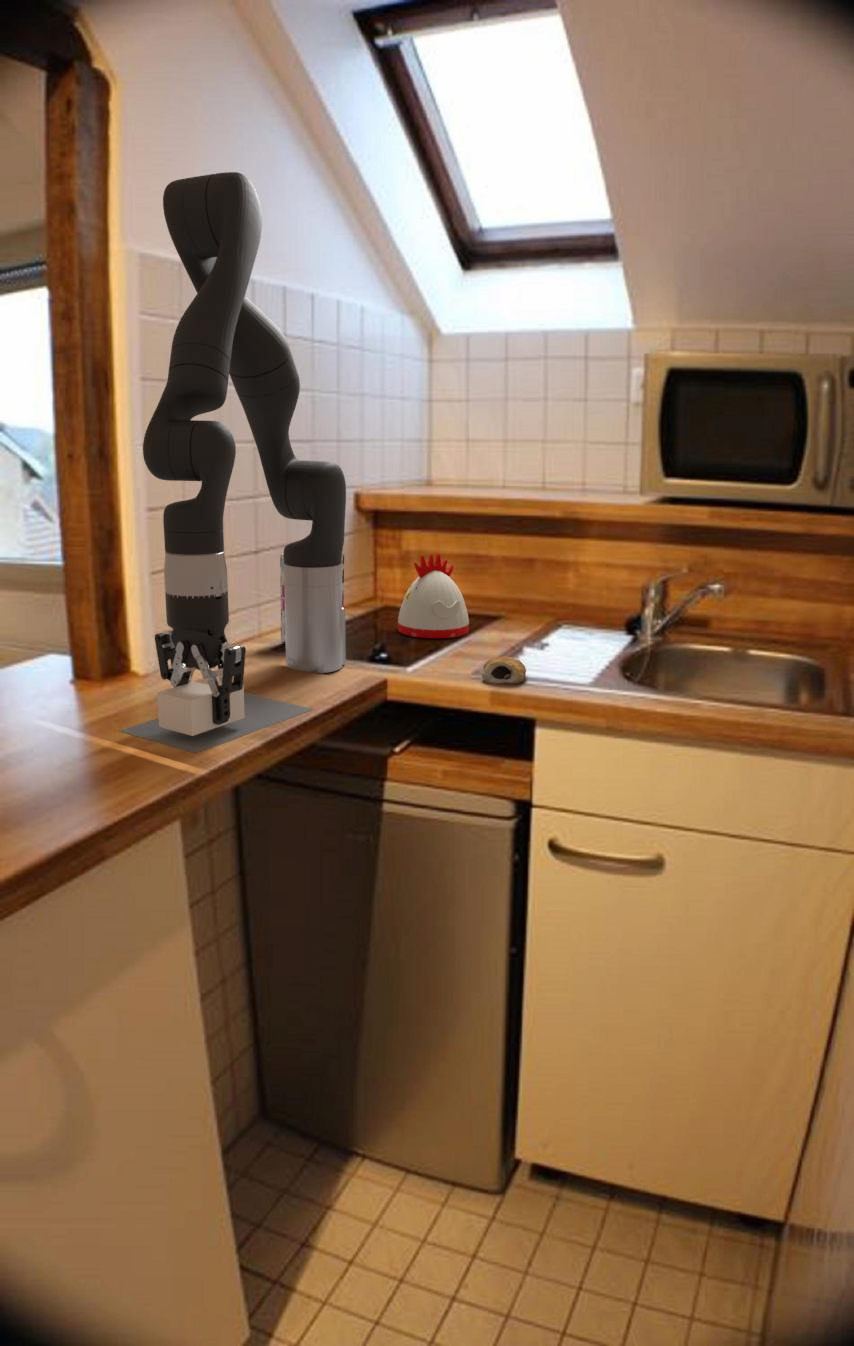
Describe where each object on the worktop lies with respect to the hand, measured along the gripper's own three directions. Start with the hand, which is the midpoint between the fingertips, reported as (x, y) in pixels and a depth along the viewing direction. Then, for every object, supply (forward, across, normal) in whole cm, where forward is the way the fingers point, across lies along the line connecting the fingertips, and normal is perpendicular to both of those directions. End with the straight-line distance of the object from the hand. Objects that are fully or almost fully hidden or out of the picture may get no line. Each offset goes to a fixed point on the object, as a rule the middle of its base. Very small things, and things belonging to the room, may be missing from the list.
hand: (202, 717), depth 119 cm
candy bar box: (+3, -23, +49) cm, 54 cm away
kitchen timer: (+3, -11, +71) cm, 72 cm away
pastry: (+3, +17, +49) cm, 52 cm away
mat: (+3, -2, +5) cm, 6 cm away
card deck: (+1, 0, 0) cm, 1 cm away
